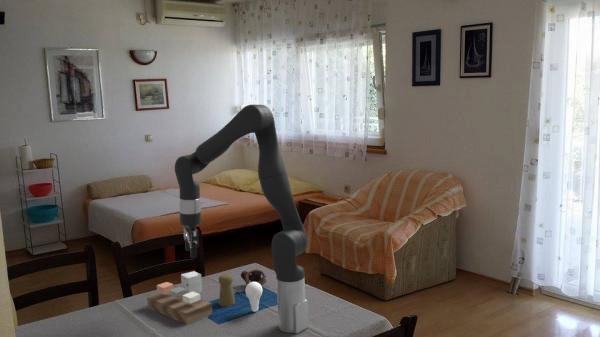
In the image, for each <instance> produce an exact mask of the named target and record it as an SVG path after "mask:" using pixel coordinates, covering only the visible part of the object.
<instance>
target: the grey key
mask: <svg viewBox="0 0 600 337" xmlns="http://www.w3.org/2000/svg"><path fill="white" fill-rule="evenodd" d="M169 293H170V296H172V297H175V298H179V297H182V296H183V295H185V294H187V289H185V288H182V286H177V287H174V289H171V290H169Z"/></svg>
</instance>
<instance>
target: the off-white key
mask: <svg viewBox="0 0 600 337" xmlns="http://www.w3.org/2000/svg"><path fill="white" fill-rule="evenodd" d="M201 296H202V295H201V293H196V292H190V293H187V294H185V295H183V301H185V302H188V303H190V304H191V303H194V302H196V301H199V300H201V299H202V297H201Z"/></svg>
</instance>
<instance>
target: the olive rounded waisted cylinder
mask: <svg viewBox="0 0 600 337" xmlns="http://www.w3.org/2000/svg"><path fill="white" fill-rule="evenodd" d="M233 277H234V276H232V275H231V274H229V273H223V274H221V275H219V277H218V283H219V287H220V288H219V300H218V305H219V306H221V307H225V306H226V307H231V305H232V306H234V305H235V304H236V300H235V293H234V289H233V280H234V279H233ZM233 304H234V305H233Z"/></svg>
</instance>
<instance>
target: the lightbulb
mask: <svg viewBox="0 0 600 337" xmlns="http://www.w3.org/2000/svg"><path fill="white" fill-rule="evenodd" d="M262 286H263V285H262ZM262 286H261V285H260V284H259V283H258V282H251V281H250V283H249V284H246V287H245V291H244V292H245V295H246V297H247V299H248V300H249V305H250V310H251V311H252V312H254V313H257V312H258V311H259V306H260V305H259V304H260V298H261V296H262V295H263V287H262Z"/></svg>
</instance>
